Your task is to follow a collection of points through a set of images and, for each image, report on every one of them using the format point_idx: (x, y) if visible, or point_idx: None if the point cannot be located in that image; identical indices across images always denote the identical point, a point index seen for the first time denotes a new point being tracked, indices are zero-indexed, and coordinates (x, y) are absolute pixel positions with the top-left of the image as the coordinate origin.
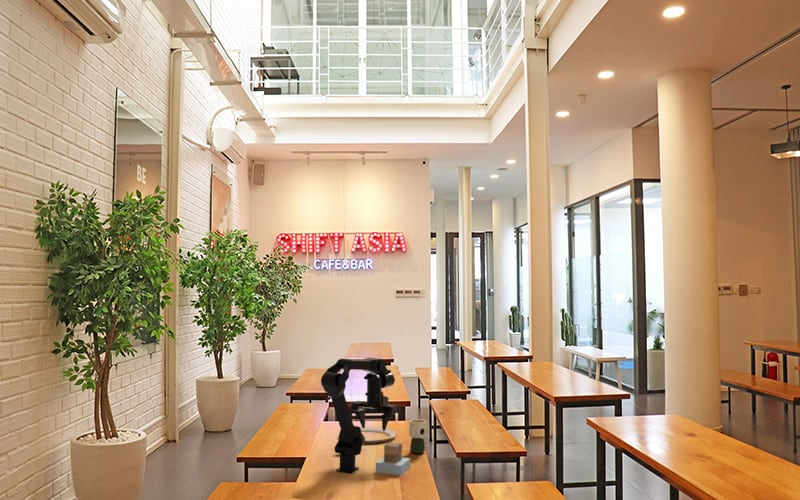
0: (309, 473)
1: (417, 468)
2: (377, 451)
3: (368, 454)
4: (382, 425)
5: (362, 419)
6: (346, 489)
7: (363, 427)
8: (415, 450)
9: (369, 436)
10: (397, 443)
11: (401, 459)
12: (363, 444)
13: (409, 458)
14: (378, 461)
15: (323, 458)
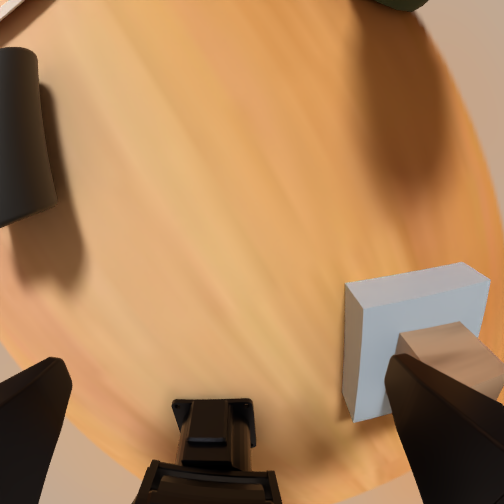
0: (135, 469)
1: (486, 249)
2: (147, 51)
3: (130, 142)
4: (411, 461)
5: (24, 480)
6: (316, 499)
7: (68, 392)
8: (407, 5)
9: None
10: (488, 389)
11: (459, 325)
12: (37, 66)
13: (487, 282)
14: (359, 407)
15: (22, 331)
